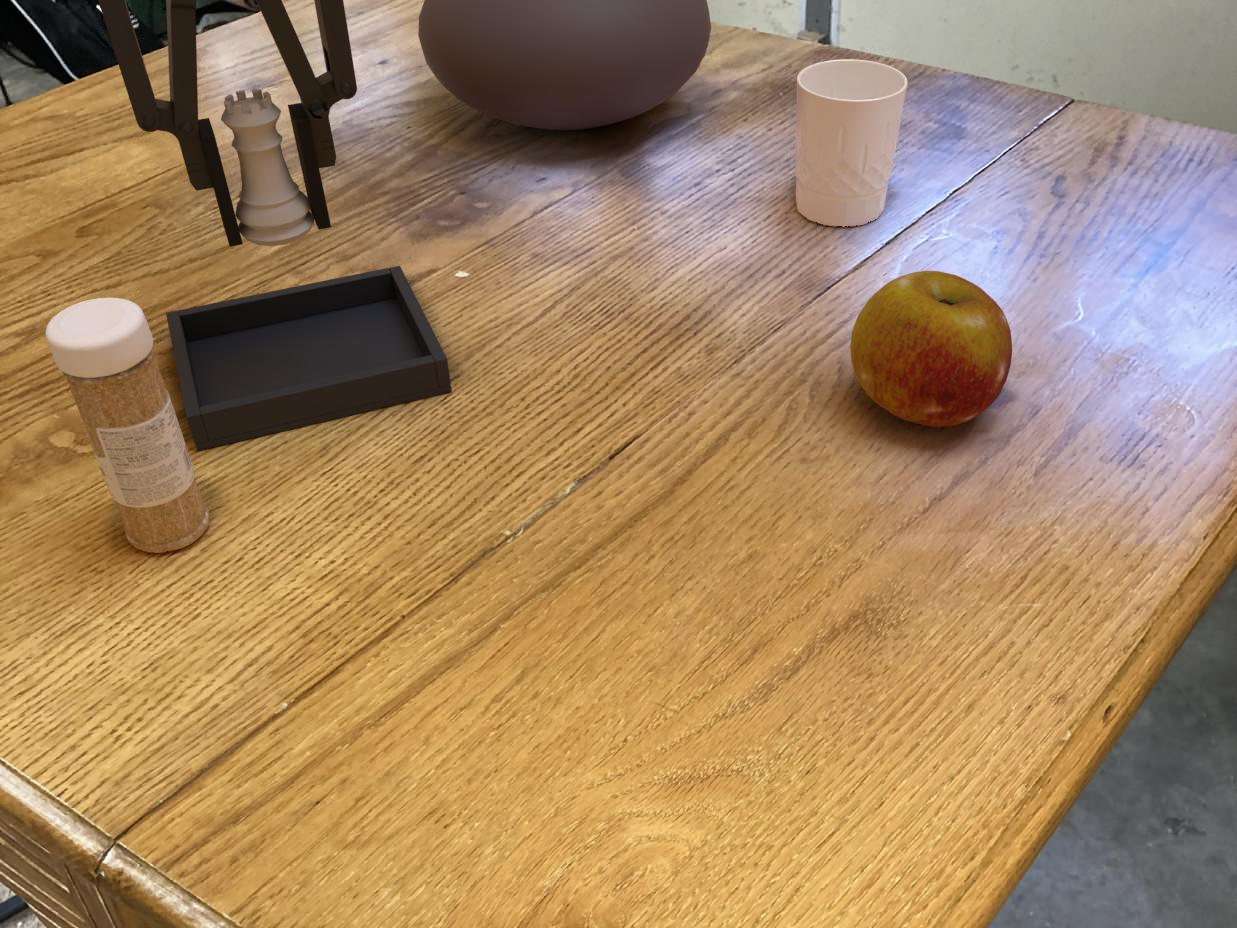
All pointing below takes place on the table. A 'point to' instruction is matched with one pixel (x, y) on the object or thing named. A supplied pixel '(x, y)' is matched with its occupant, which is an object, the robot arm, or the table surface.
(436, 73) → the flattened ellipsoid
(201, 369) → the tray
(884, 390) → the fruit
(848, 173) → the pale pink cup
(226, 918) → the table surface
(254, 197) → the rook chess piece
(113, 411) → the sprinkles bottle
